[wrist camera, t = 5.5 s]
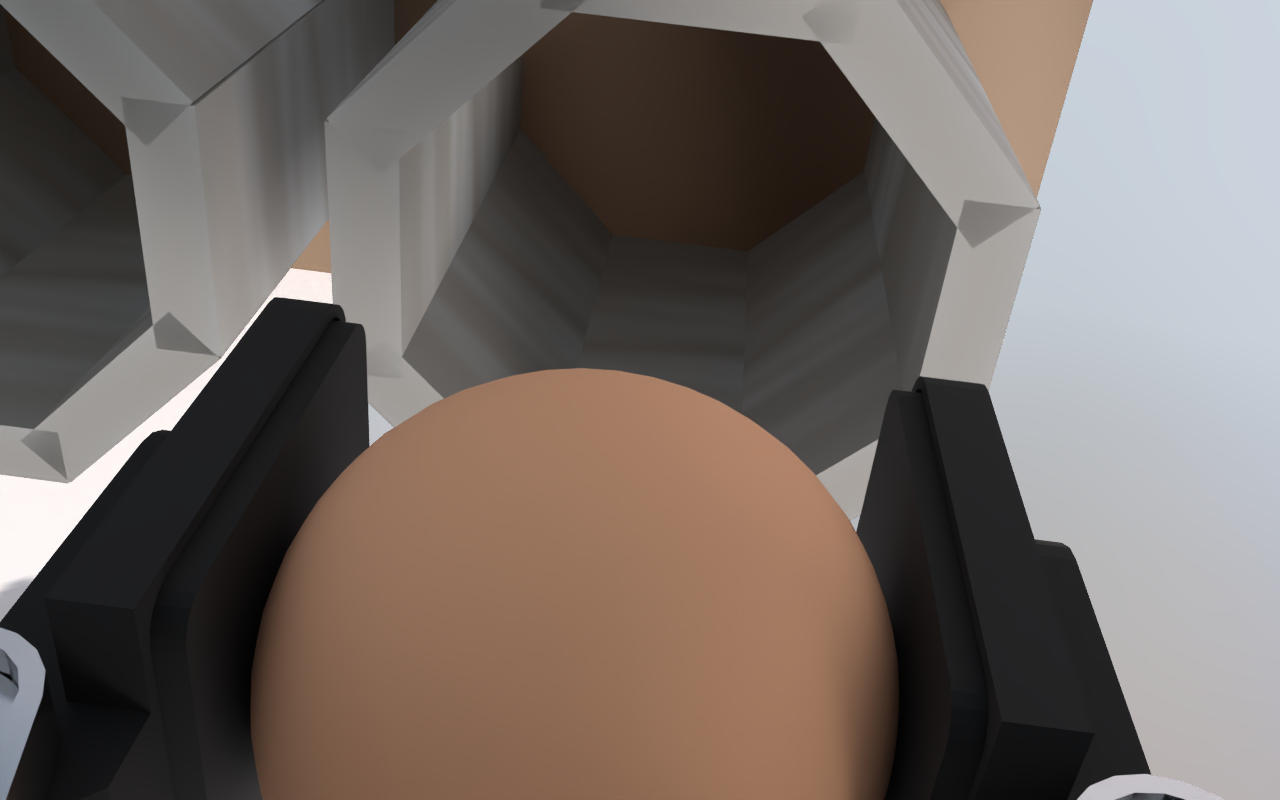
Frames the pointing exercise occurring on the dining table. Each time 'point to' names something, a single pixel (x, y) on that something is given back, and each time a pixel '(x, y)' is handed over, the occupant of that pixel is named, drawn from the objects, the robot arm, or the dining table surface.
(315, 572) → the ball terracotta
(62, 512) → the dining table surface
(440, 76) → the stand
